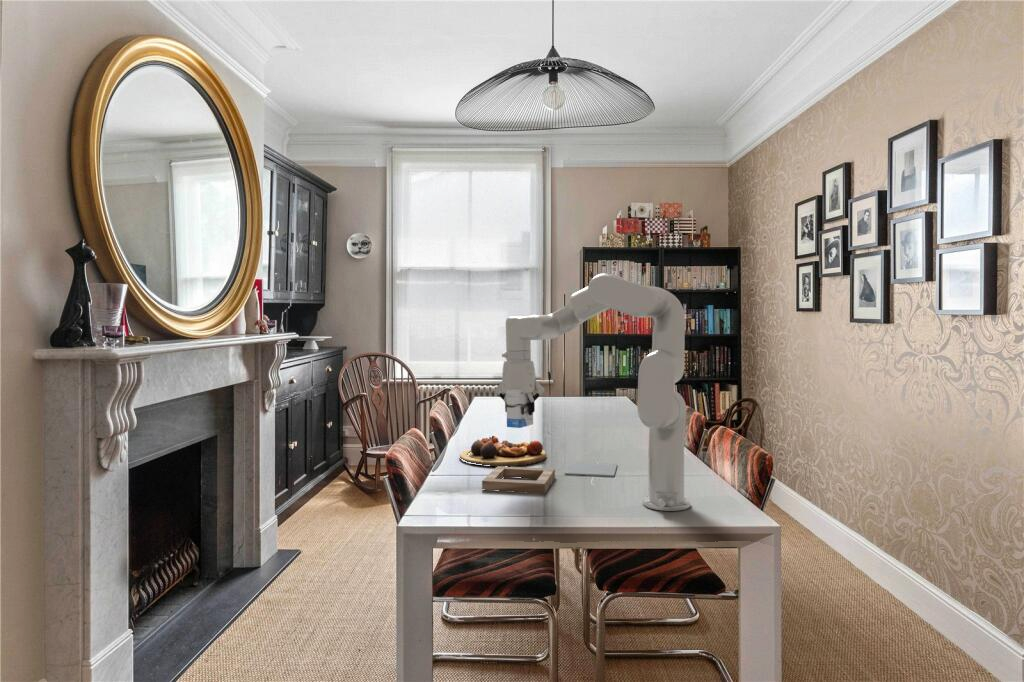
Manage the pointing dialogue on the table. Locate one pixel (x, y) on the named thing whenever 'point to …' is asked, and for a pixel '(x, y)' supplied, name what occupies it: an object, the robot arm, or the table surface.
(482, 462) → the wooden plate with food
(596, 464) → the slate grey mat
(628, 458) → the table surface
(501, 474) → the square wooden frame
